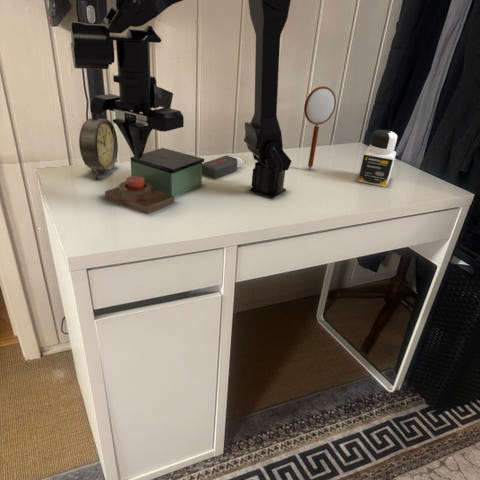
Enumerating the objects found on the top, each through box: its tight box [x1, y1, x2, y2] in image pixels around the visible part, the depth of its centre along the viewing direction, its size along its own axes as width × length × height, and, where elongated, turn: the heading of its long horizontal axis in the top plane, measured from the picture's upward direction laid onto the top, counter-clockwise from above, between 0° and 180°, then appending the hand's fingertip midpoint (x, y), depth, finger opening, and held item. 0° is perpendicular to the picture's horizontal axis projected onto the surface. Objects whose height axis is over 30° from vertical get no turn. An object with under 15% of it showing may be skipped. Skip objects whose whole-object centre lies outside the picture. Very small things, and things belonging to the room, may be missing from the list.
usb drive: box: [202, 155, 242, 180], centre depth 115 cm, size 5×12×3 cm, turn 144°
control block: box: [104, 180, 175, 215], centre depth 96 cm, size 12×8×4 cm
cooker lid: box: [130, 147, 205, 173], centre depth 102 cm, size 12×11×1 cm
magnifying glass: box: [303, 86, 337, 171], centre depth 116 cm, size 9×2×20 cm, turn 113°
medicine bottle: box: [357, 129, 398, 188], centre depth 116 cm, size 7×7×12 cm
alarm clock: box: [78, 97, 119, 180], centre depth 104 cm, size 11×5×16 cm, turn 168°
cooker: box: [130, 160, 203, 198], centre depth 104 cm, size 12×11×5 cm
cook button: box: [125, 175, 145, 190], centre depth 94 cm, size 4×4×2 cm
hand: (138, 158), depth 92 cm, fingers closed
